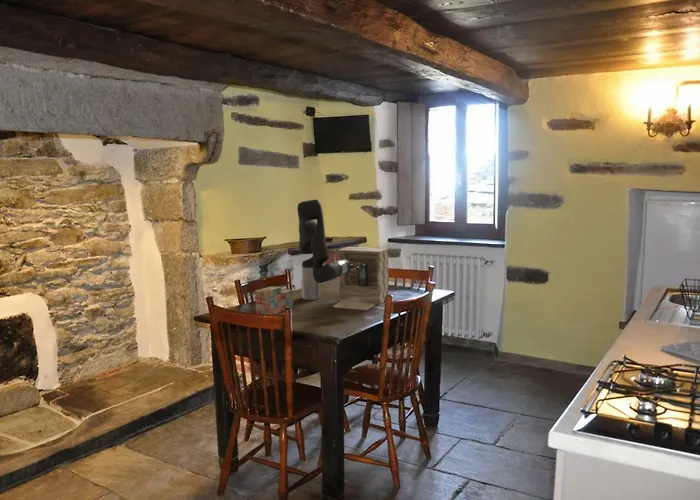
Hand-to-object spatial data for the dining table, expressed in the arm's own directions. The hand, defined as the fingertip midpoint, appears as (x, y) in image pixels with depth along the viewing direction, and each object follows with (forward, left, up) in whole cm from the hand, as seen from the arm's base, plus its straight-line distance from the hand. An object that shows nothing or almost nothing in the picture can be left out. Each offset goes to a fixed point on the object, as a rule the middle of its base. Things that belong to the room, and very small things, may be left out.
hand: (352, 263), depth 283 cm
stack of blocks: (-39, +3, -22) cm, 45 cm away
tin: (+9, +10, -14) cm, 19 cm away
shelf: (+9, +11, -22) cm, 26 cm away
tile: (0, 0, -22) cm, 22 cm away
